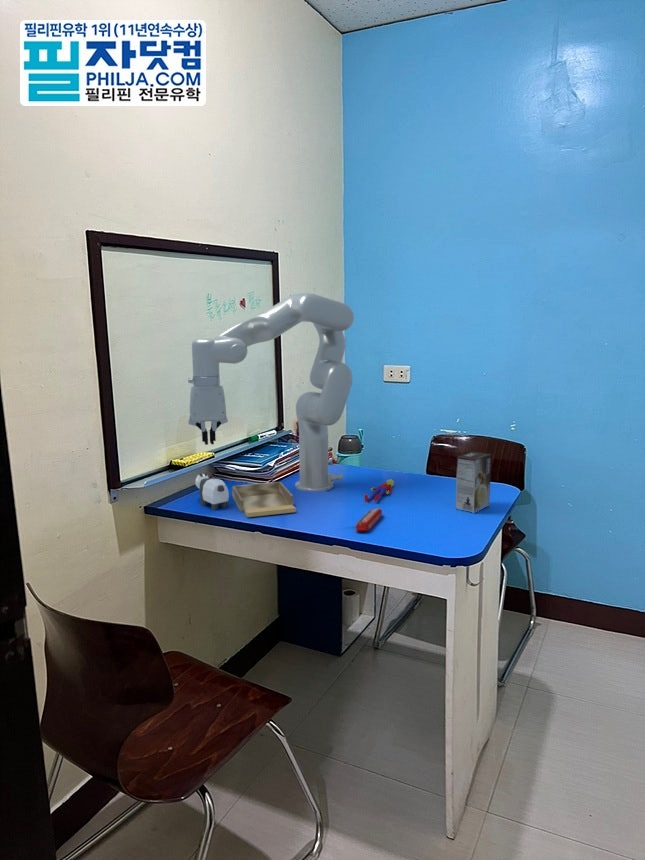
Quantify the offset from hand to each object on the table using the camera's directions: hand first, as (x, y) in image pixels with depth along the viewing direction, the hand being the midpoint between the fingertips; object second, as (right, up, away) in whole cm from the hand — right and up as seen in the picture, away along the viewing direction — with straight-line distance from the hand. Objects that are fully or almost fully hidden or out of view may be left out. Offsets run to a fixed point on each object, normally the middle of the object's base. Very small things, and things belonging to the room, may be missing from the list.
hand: (209, 443), depth 186 cm
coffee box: (+78, -19, 0) cm, 80 cm away
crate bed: (+15, -18, +5) cm, 25 cm away
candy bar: (+46, -22, -13) cm, 53 cm away
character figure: (+52, -17, +14) cm, 57 cm away
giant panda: (0, -19, +4) cm, 20 cm away
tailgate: (+18, -20, -3) cm, 27 cm away
